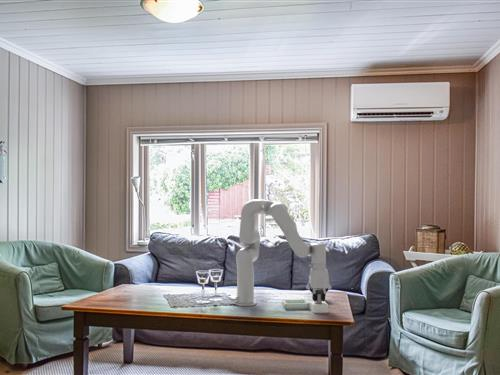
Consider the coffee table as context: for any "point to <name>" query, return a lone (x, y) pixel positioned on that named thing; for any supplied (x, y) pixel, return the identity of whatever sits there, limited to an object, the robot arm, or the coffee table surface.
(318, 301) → the pin
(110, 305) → the coffee table surface
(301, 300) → the tray
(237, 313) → the coffee table surface
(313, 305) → the socket block
